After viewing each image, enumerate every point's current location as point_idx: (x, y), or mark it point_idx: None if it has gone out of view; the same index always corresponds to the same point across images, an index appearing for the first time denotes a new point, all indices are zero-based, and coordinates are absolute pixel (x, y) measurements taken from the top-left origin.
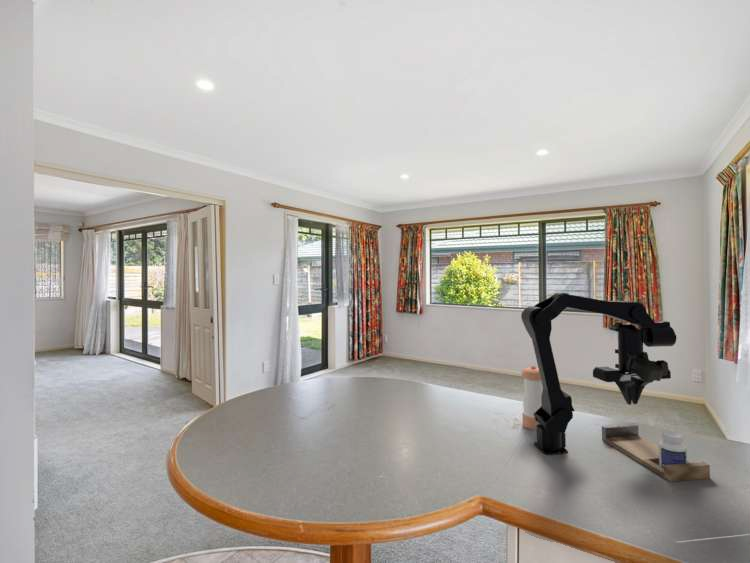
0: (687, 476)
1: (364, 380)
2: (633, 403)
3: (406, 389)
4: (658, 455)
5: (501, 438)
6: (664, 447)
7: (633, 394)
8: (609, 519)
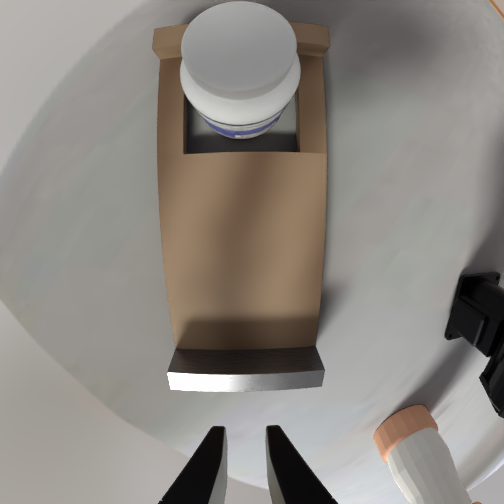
0: None
1: None
2: (226, 437)
3: None
4: (231, 173)
5: None
6: (298, 58)
7: (218, 499)
8: (494, 31)
